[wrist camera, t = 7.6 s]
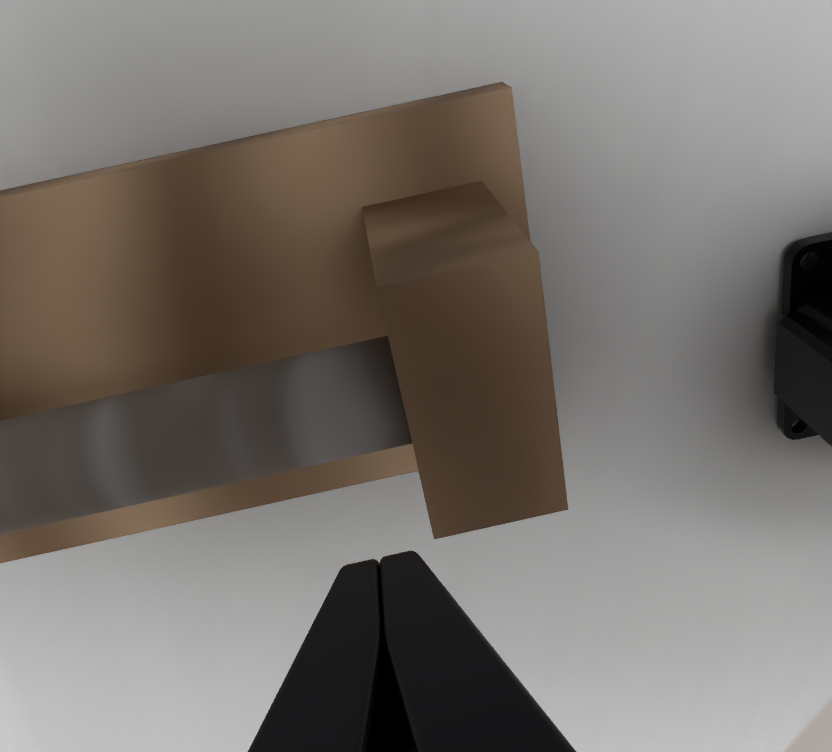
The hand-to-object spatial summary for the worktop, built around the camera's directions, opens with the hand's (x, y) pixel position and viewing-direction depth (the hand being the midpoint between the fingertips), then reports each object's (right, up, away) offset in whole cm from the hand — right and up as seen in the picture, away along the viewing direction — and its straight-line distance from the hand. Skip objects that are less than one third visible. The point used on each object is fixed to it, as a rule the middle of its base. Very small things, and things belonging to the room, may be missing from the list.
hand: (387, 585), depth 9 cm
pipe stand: (-11, +2, +12) cm, 17 cm away
